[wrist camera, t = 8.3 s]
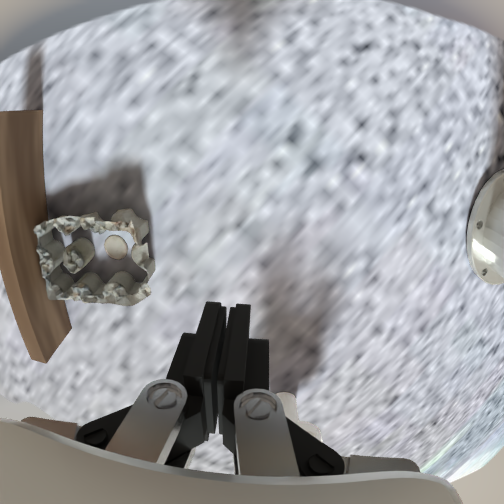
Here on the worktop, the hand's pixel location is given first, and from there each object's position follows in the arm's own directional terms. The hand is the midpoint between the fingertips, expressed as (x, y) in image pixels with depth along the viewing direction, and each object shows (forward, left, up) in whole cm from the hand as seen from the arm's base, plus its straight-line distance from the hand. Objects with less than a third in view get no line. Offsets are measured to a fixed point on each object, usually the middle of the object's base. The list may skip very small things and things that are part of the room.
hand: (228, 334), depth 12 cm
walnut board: (+19, +1, -13) cm, 23 cm away
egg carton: (+12, +3, -14) cm, 19 cm away
